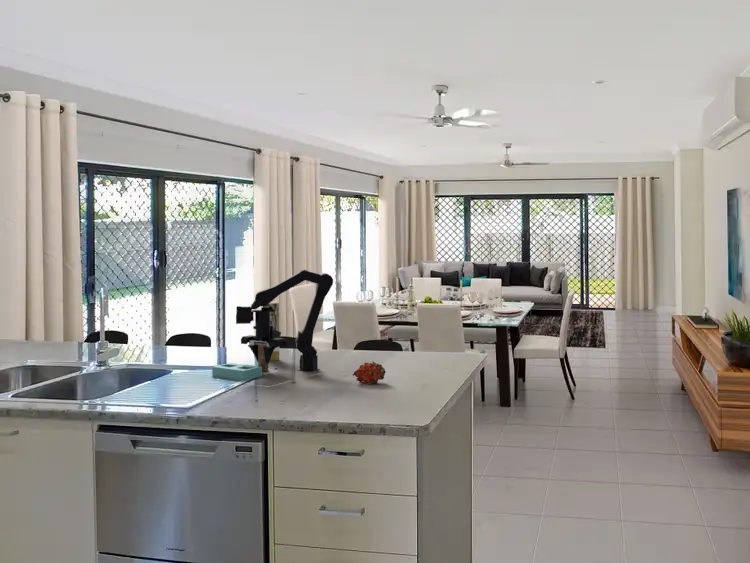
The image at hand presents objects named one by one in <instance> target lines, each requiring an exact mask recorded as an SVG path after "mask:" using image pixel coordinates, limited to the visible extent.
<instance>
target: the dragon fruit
mask: <svg viewBox="0 0 750 563" xmlns="http://www.w3.org/2000/svg"><path fill="white" fill-rule="evenodd" d="M386 373H387V372H386V369H385V367H383V365H382V364H381V363H376V362H374V361H372V362H370V363H369V362H364V363H363V364H361V365H359V367H358V368H357V369H356V370H354V372H353V373H352V377H354V376H355V377H356V381H357V382H359V383H360V384H363V385H364V384H365V385H366V384H368V385H371V384H378V382H379V380H381V381H382V380H384V379H385V377H384V376H385V374H386Z"/></svg>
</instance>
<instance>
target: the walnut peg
mask: <svg viewBox="0 0 750 563" xmlns="http://www.w3.org/2000/svg"><path fill="white" fill-rule="evenodd" d="M266 346H267V345H258V362H257V366H260V367H262V372H267V371H269V369H270V367H269V366H270V363H269V364H266V360H265V355H264V349H263V347H266Z"/></svg>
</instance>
